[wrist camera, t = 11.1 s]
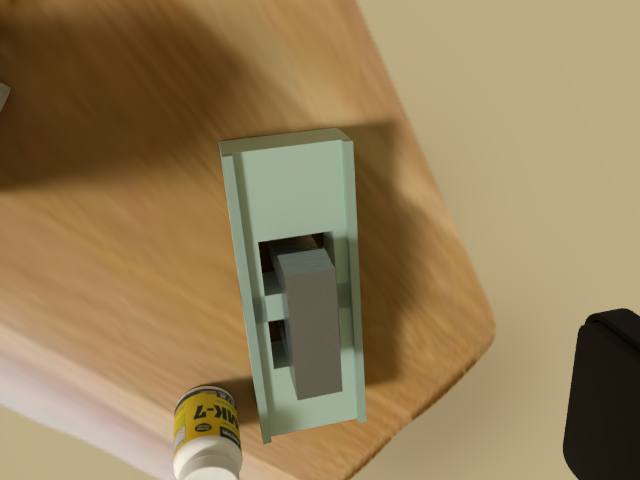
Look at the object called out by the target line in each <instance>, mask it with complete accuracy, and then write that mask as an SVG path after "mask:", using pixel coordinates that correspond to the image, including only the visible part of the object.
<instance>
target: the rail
mask: <svg viewBox="0 0 640 480" xmlns="http://www.w3.org/2000/svg"><path fill="white" fill-rule="evenodd" d="M218 143H219V150H220V157H221V164H222V171H223V177H224V184H225V191H226V198H227V205H228V212H229V219H230V226H231V232H232V239H233V246H234V253H235V260H236V267H237V274H238V281H239V288H240V294H241V301H242V308H243V315H244V322H245V329H246V336H247V343H248V349H249V356H250V363H251V370H252V377H253V384H254V391H255V398H256V405H257V411H258V416H259V422H260V427H261V432H262V438H263V443H264V444H266V443H271V437H272V436H276V435H281V434H286V433H290V432H295V431H299V430H304V429H309V428H313V427H318V426H323V425H327V424H332V423H337V422H341V421H346V420H351V419H355V418H357V420H358V422H359V423H363V422H367V421H366V400H365V379H364V358H363V337H362V316H361V295H360V274H359V253H358V232H357V211H356V190H355V169H354V148H353V140H352V139H351V138H349V137H348V136H347V135H346V134H344V133H343V132H342V131H341V130H339V129H338V128H337V127H335V128H327V129H319V130H310V131H302V132H294V133H285V134H277V135H269V136H261V137H252V138H244V139H236V140H227V141H219V142H218ZM321 232H323V242H324V250H325V252H326V253H327V255H328V257H329V259H330V260H331V262H332V264H333V266H334V267H335V274H336V290H337V307H338V323H339V339H340V355H341V371H342V388H343V391H342V392H337V393H333V394H328V395H323V396H318V397H313V398H308V399H303V400H297V396H296V393H295V389H294V386H293V382H292V379H291V376H290V371H289V363H288V360H287V357H286V353H285V350H284V347H283V343H282V340H280V341H275V342H271V341H270V333H269V325H268V322H269V321H274V320H280V319H284V314H283V305H282V296H281V287H280V284H279V282H278V279H277V276H276V273H275V271H273V272H267V273H262V270H261V262H260V254H259V246H258V242H262V241H269V240H275V239H282V238H288V237H295V236H302V235H308V234H315V233H321Z"/></svg>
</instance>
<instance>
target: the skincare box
mask: <svg viewBox="0 0 640 480" xmlns="http://www.w3.org/2000/svg"><path fill="white" fill-rule="evenodd" d="M10 90H11V89H10V87H8V86H7V85H5V84H3V83H1V82H0V112H1V110H2V108H3V106H4V104H5V102H6V100H7V97H8V95H9V93H10Z"/></svg>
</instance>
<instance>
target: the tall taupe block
mask: <svg viewBox="0 0 640 480" xmlns="http://www.w3.org/2000/svg"><path fill="white" fill-rule="evenodd" d="M268 245H269V254H270V258H271V261H272V264H273V267H274V270H275V273H276V276H277V279H278V282H279V284H280V287H281V296H282V305H283V314H284V319H280V320H277V325H278V330H279V333H280V336H281V340H282V343H283V347H284V350H285V353H286V357H287V360H288V363H289V371H290V376H291V379H292V382H293V386H294V389H295V393H296V396H297V400H303V399H308V398H313V397H318V396H323V395H328V394H333V393H337V392H342V391H343V388H342V371H341V355H340V339H339V323H338V307H337V290H336V274H335V267H334V266H333V264H332V262H331V260H330V259H329V257H328V255H327V253H326V252H325V250H324V248H323V249H319V248H318V246H317V244H316V242H315V241H314V239H313V237H312V235H311V234H308V235H302V236H295V237H288V238H282V239H275V240H269V241H268Z"/></svg>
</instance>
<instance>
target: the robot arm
mask: <svg viewBox="0 0 640 480" xmlns="http://www.w3.org/2000/svg"><path fill="white" fill-rule="evenodd" d="M563 454H564V458H565V460H566V463H567V465H568V467H569V468H570V470H571V471H572V472H573V473H574V475H575V476H576V477H577V478H578V479H579V480H640V316H638V315H637V314H635V313H634V312H633V311H631V310H629V309H623V308H621V309H616V310H610V311H605V312H600V313H595V314H592V315H590V316H589V317H588V318H587V319H586V322H585V325H583V326H581V327H580V329H579V332H578V338H577V344H576V352H575V360H574V367H573V374H572V382H571V389H570V397H569V405H568V413H567V420H566V427H565V435H564V441H563Z"/></svg>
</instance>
